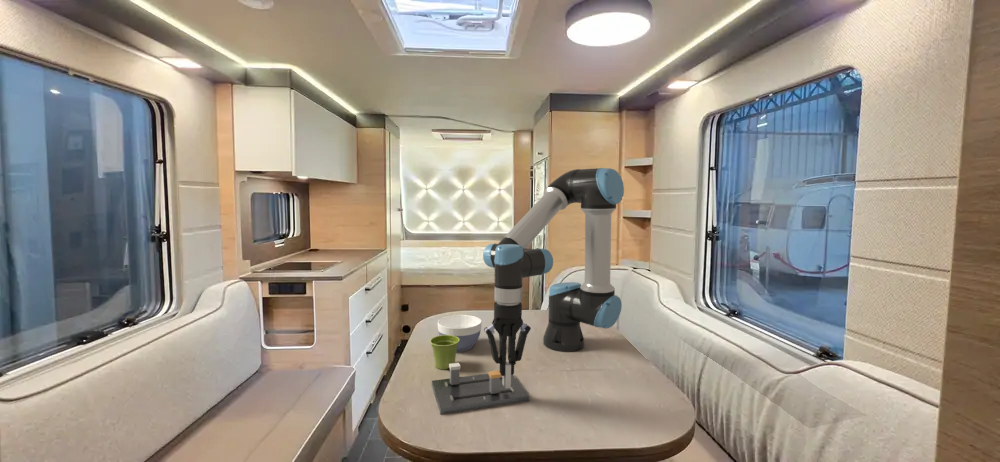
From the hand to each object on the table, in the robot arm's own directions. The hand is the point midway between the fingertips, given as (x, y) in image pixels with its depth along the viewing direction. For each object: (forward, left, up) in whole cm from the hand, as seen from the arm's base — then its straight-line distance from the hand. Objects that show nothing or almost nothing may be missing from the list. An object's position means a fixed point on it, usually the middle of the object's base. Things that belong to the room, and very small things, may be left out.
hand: (506, 385), depth 111 cm
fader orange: (+3, 0, -1) cm, 4 cm away
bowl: (+5, -40, -3) cm, 40 cm away
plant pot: (+13, -25, -3) cm, 28 cm away
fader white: (+13, -8, -1) cm, 15 cm away
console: (+7, -4, -3) cm, 9 cm away
